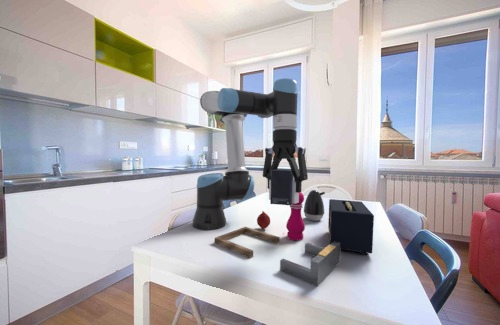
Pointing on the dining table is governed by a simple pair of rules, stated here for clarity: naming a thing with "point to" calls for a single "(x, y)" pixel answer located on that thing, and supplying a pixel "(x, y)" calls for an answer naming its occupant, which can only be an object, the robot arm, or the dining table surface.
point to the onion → (263, 220)
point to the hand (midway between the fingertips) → (283, 200)
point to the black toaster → (351, 225)
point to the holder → (242, 250)
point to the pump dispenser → (314, 206)
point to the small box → (281, 186)
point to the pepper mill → (296, 220)
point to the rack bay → (314, 263)
